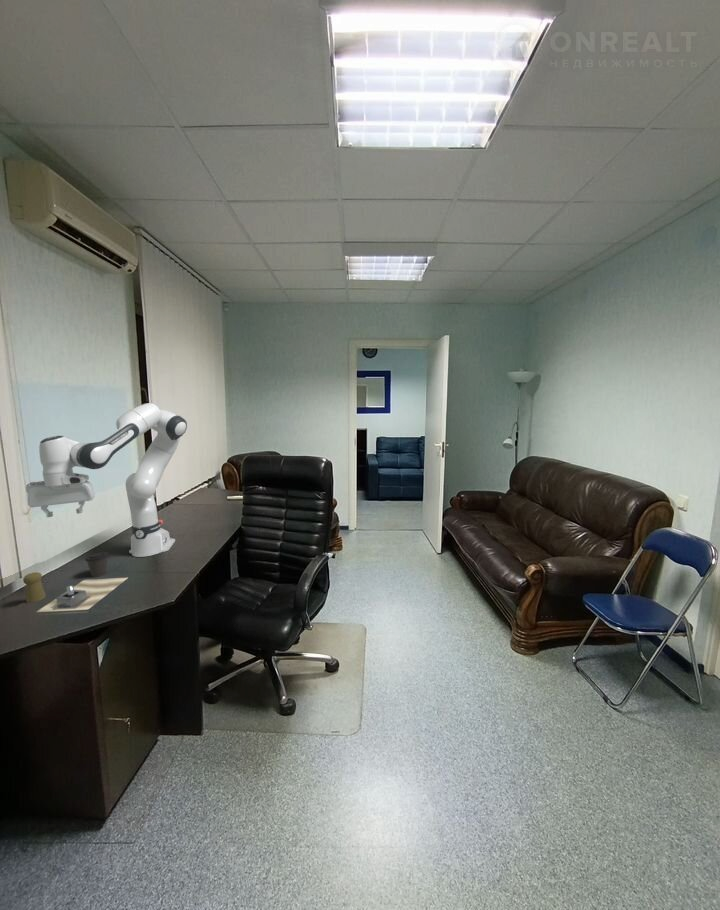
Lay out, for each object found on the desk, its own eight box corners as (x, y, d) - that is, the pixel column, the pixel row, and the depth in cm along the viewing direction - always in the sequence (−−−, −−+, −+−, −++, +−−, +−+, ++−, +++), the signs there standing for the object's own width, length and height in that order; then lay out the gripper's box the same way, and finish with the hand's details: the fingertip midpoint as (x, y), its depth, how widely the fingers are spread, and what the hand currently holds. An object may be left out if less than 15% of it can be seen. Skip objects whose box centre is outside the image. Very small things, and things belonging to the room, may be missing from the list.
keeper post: (69, 598, 139) (66, 581, 139) (91, 596, 140) (88, 580, 139) (52, 609, 132) (49, 592, 131) (75, 608, 132) (72, 591, 131)
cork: (25, 601, 140) (20, 574, 139) (46, 595, 145) (41, 568, 143) (26, 607, 136) (21, 579, 135) (48, 601, 140) (43, 573, 139)
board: (84, 582, 154) (84, 579, 154) (128, 580, 155) (128, 577, 155) (36, 615, 131) (35, 612, 130) (88, 612, 131) (88, 609, 131)
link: (73, 597, 139) (72, 589, 139) (86, 598, 138) (85, 590, 137) (57, 606, 133) (56, 598, 133) (71, 607, 132) (70, 599, 132)
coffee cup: (114, 574, 160) (111, 552, 159) (93, 582, 154) (89, 559, 152) (106, 570, 165) (102, 549, 163) (84, 578, 158) (81, 555, 157)
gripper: (20, 484, 135) (27, 521, 137) (88, 477, 142) (93, 513, 144) (28, 481, 140) (35, 516, 142) (93, 475, 147) (98, 509, 149)
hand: (65, 514), depth 143 cm, fingers open, 8 cm apart
